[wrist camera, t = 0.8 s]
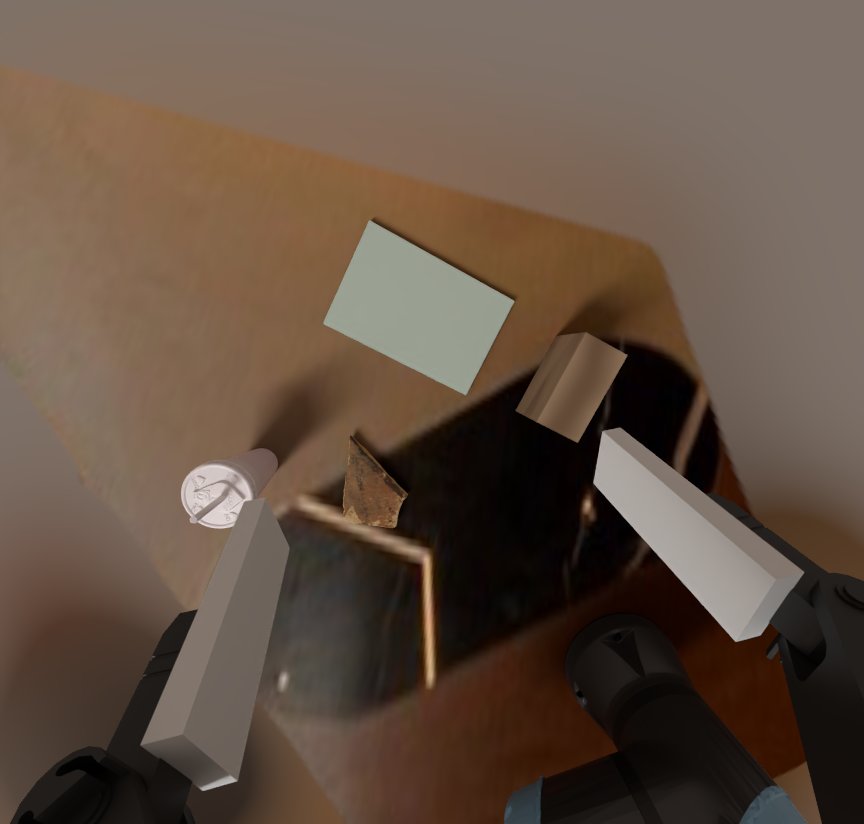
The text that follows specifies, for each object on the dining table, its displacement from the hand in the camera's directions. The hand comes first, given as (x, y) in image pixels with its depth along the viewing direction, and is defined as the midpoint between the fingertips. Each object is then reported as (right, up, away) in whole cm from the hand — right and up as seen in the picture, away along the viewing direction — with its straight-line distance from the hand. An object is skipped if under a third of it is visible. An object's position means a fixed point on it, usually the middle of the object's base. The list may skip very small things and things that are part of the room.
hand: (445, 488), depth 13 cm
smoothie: (-21, -3, +27) cm, 34 cm away
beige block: (+14, +7, +28) cm, 32 cm away
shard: (-9, -6, +29) cm, 31 cm away
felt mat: (-2, +14, +25) cm, 29 cm away
